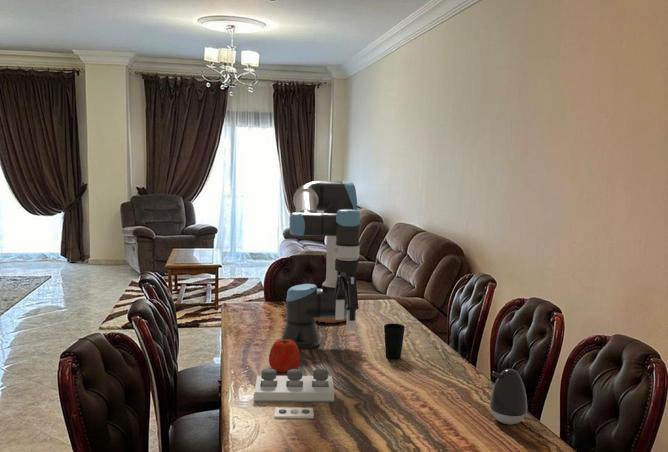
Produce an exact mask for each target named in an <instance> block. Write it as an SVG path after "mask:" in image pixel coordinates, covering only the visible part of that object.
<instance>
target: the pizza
mask: <svg viewBox="0 0 668 452" xmlns="http://www.w3.org/2000/svg"><path fill="white" fill-rule="evenodd" d="M316 321H318V322H317V323H320V322H325V323H324V324H338V323H342V322H347V318H344V320H336V319H335V318H316ZM337 322H338V323H337Z"/></svg>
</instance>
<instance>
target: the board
mask: <svg viewBox="0 0 668 452" xmlns="http://www.w3.org/2000/svg"><path fill="white" fill-rule="evenodd" d="M253 397H254V399H253V402H254V403H335V389H334V381H333V376H332V375H328V379H327V380H325V387H316V380H315V379H314V378H313V375H302V379H300V382H299V387H290V379H288V378H287V375H276V379H274V385H273V387H264V379H262V378H261V375H257V376H256V381H255V387H254V393H253Z"/></svg>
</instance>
